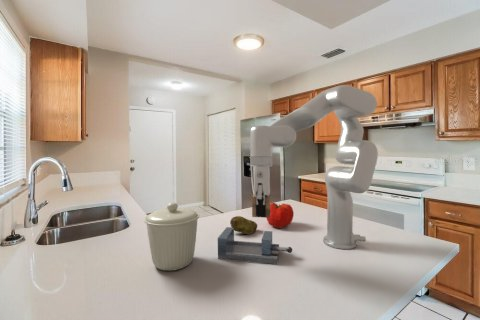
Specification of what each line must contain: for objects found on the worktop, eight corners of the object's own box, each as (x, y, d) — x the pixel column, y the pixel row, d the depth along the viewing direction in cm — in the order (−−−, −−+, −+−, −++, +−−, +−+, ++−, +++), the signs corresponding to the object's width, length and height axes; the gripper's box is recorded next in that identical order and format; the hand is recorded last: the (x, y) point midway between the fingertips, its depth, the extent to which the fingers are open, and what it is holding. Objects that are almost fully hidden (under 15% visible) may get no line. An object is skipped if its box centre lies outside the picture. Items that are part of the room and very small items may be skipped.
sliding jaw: (292, 247, 87) (292, 232, 87) (292, 258, 79) (292, 242, 78) (264, 245, 90) (264, 230, 89) (261, 255, 81) (261, 239, 81)
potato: (259, 235, 105) (258, 218, 104) (230, 236, 104) (230, 219, 103) (256, 229, 113) (256, 213, 113) (230, 230, 112) (229, 214, 112)
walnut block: (270, 214, 82) (270, 194, 82) (269, 217, 78) (269, 197, 78) (253, 213, 83) (253, 194, 83) (252, 216, 79) (252, 196, 79)
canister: (139, 261, 82) (137, 202, 81) (187, 247, 93) (185, 195, 92) (155, 284, 67) (153, 213, 66) (209, 265, 78) (208, 203, 77)
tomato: (263, 229, 114) (263, 205, 113) (270, 220, 127) (270, 199, 126) (290, 232, 108) (290, 207, 108) (295, 223, 121) (295, 201, 121)
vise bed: (279, 249, 90) (279, 230, 90) (277, 264, 78) (277, 242, 78) (227, 245, 94) (226, 227, 94) (217, 258, 83) (217, 238, 82)
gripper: (271, 163, 71) (271, 222, 72) (273, 160, 87) (273, 209, 88) (247, 163, 72) (247, 221, 73) (253, 160, 89) (253, 208, 89)
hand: (261, 214), depth 81 cm, fingers closed on walnut block, 4 cm apart
